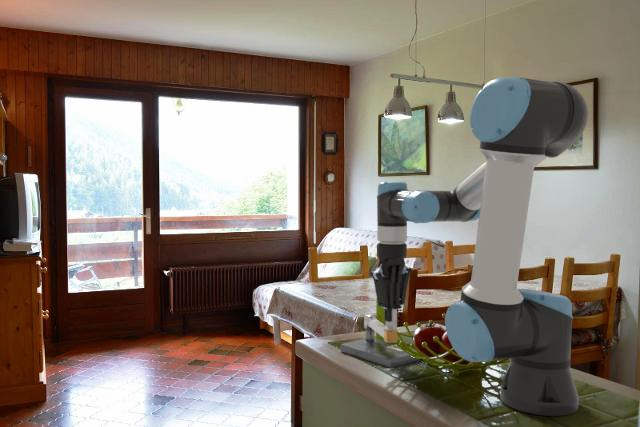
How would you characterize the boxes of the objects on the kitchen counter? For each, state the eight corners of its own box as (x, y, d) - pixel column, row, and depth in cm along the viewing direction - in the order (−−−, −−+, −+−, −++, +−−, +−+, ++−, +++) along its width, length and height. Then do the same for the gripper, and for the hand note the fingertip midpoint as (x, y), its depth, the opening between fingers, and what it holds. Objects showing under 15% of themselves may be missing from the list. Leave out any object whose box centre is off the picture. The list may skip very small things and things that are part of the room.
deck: (422, 359, 151) (422, 339, 151) (390, 367, 144) (390, 346, 143) (372, 344, 165) (372, 325, 165) (340, 351, 157) (340, 332, 157)
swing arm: (398, 344, 144) (398, 330, 144) (385, 345, 143) (385, 331, 143) (373, 326, 163) (374, 313, 163) (362, 326, 163) (363, 314, 162)
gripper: (398, 239, 157) (397, 326, 158) (363, 242, 148) (363, 334, 150) (419, 241, 151) (418, 332, 152) (384, 245, 143) (384, 341, 144)
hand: (391, 333), depth 151 cm, fingers closed
